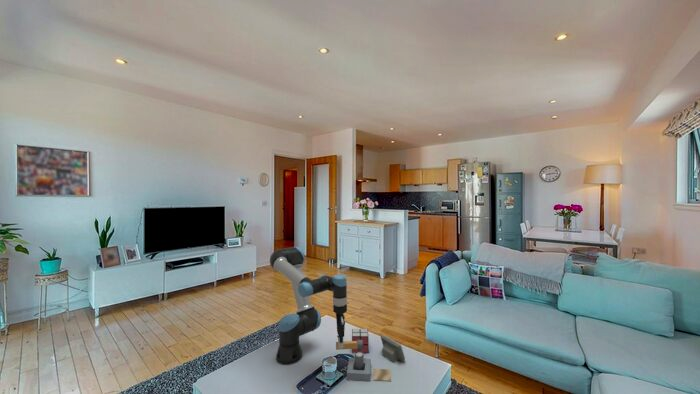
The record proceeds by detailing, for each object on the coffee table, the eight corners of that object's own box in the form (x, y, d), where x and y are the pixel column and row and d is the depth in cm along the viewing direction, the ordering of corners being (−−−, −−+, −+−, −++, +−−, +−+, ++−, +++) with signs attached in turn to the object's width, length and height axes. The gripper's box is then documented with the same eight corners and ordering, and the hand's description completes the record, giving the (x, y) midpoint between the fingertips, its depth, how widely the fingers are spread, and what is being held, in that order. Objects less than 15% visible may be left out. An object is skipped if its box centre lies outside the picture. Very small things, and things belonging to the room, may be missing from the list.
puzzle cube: (368, 353, 164) (368, 336, 164) (352, 353, 165) (351, 336, 165) (367, 344, 174) (367, 328, 174) (352, 344, 175) (352, 328, 175)
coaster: (373, 380, 139) (373, 379, 139) (373, 369, 148) (373, 368, 148) (390, 381, 138) (390, 380, 138) (390, 370, 147) (390, 369, 147)
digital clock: (406, 362, 155) (406, 343, 155) (393, 366, 151) (392, 347, 151) (390, 348, 170) (390, 330, 170) (378, 351, 166) (378, 334, 166)
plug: (354, 375, 143) (354, 356, 143) (355, 369, 148) (355, 351, 148) (363, 376, 143) (363, 356, 143) (363, 370, 148) (363, 351, 148)
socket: (346, 379, 140) (346, 359, 140) (349, 363, 154) (349, 345, 154) (370, 381, 139) (370, 360, 139) (370, 365, 152) (370, 346, 152)
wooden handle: (336, 346, 152) (335, 340, 152) (362, 345, 153) (362, 339, 153) (336, 350, 149) (336, 344, 149) (363, 348, 150) (363, 342, 150)
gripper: (349, 307, 144) (350, 352, 143) (344, 299, 156) (344, 340, 156) (335, 309, 142) (336, 355, 142) (331, 300, 155) (331, 342, 154)
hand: (340, 347), depth 149 cm, fingers closed
